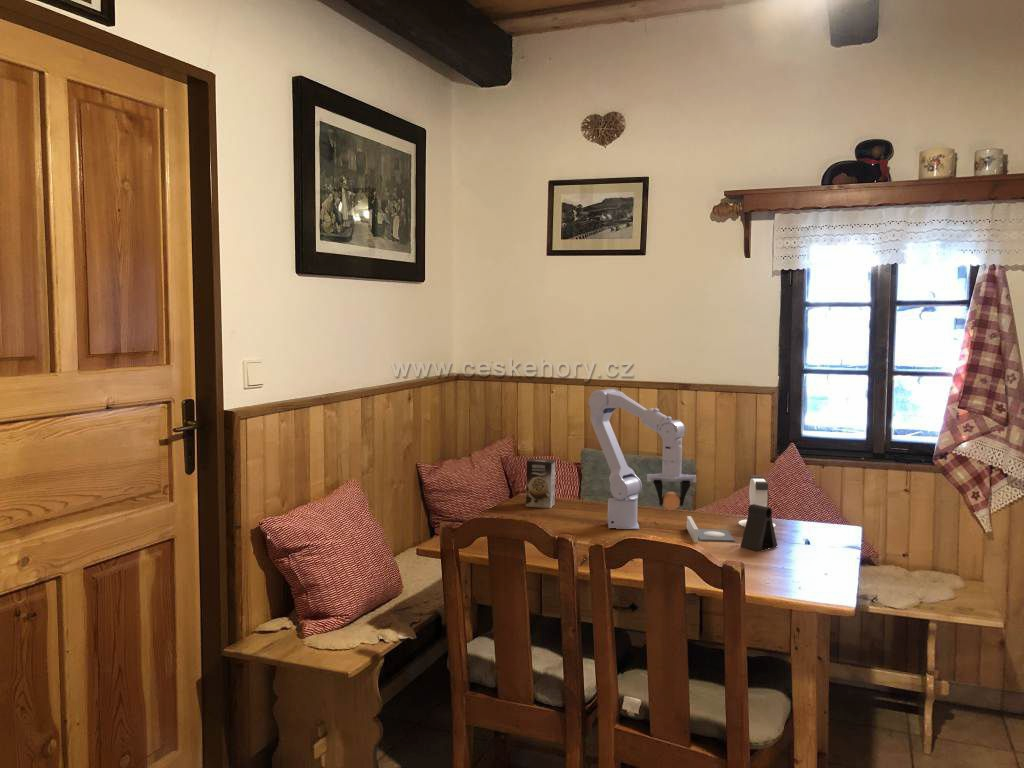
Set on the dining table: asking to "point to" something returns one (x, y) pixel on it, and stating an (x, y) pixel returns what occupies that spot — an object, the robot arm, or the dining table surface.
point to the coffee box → (540, 483)
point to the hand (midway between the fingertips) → (671, 505)
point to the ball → (671, 500)
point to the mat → (714, 535)
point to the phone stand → (759, 529)
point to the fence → (692, 529)
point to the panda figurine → (757, 494)
